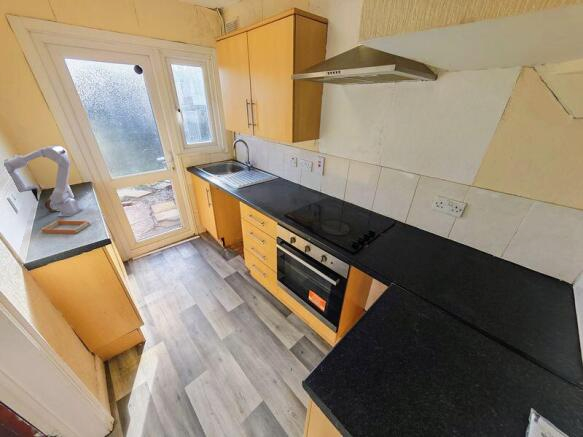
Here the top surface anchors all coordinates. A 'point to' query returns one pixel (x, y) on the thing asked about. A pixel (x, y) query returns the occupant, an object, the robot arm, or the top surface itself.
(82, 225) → the wooden frame
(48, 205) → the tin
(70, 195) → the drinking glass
